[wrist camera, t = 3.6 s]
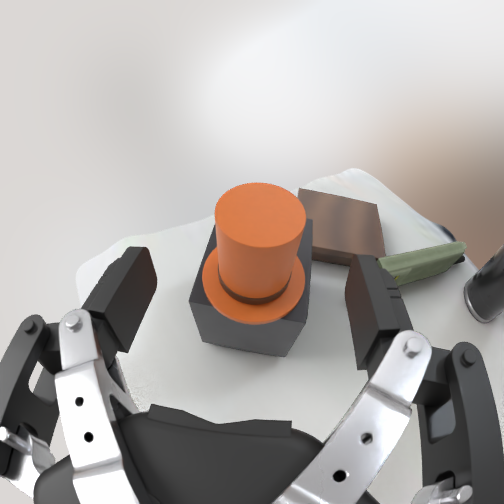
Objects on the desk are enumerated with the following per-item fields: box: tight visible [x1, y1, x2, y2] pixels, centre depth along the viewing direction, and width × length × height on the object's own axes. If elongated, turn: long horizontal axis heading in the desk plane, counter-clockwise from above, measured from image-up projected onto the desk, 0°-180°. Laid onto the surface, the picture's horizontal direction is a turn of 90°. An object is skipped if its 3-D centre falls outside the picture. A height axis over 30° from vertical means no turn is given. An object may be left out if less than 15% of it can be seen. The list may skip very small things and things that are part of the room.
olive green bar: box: [377, 242, 467, 286], centre depth 37 cm, size 7×3×25 cm
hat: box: [202, 183, 306, 325], centre depth 21 cm, size 9×9×8 cm
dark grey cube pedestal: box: [189, 218, 313, 357], centre depth 31 cm, size 10×12×12 cm
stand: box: [298, 188, 386, 266], centre depth 42 cm, size 14×12×4 cm
